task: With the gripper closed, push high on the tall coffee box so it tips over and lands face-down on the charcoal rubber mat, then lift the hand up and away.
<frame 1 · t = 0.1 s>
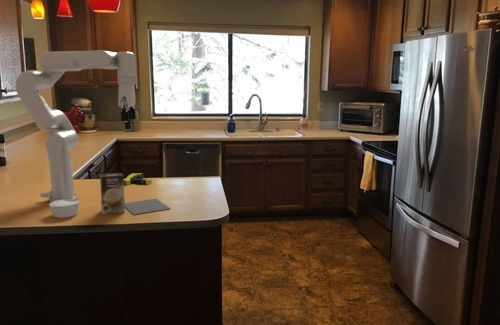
hand: (128, 120, 188), 37 cm above the countertop, tool pointing down, fingers open, 9 cm apart
ramekin: (65, 215, 174), on the countertop
coffee box: (113, 212, 178), on the countertop
stun gun: (140, 182, 233), on the countertop
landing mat: (145, 206, 185), on the countertop
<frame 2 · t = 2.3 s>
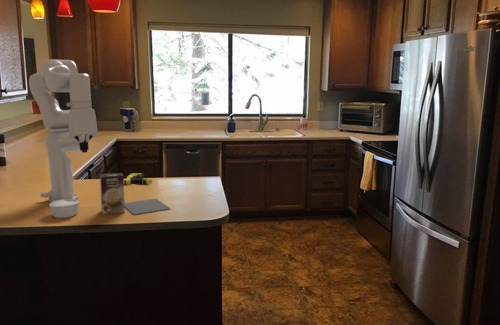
hand: (84, 151, 168), 26 cm above the countertop, tool pointing down, fingers closed
nothing on the countertop moved.
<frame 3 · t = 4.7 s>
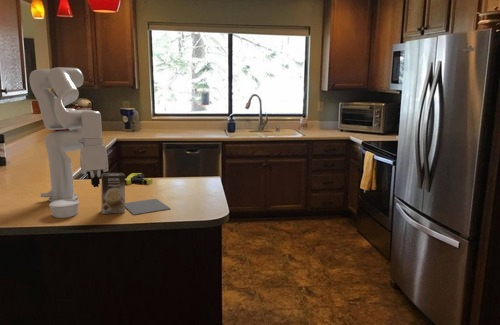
hand: (95, 186, 172), 12 cm above the countertop, tool pointing down, fingers closed
coffee box: (113, 211, 178), on the countertop, touching gripper
everything else where it was.
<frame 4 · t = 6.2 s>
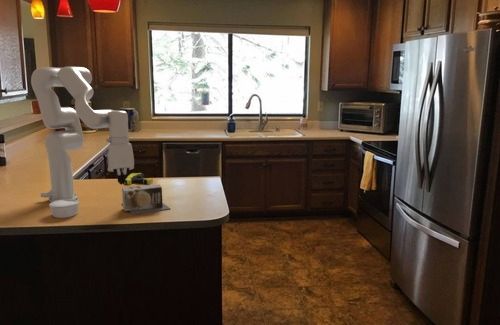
hand: (121, 183, 178), 12 cm above the countertop, tool pointing down, fingers closed
coffee box: (122, 199, 179), point 5 cm above the countertop, touching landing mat
everything else where it was.
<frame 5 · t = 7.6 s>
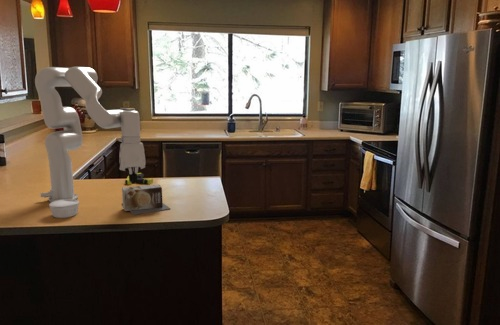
hand: (133, 182, 181), 12 cm above the countertop, tool pointing down, fingers closed
nothing on the countertop moved.
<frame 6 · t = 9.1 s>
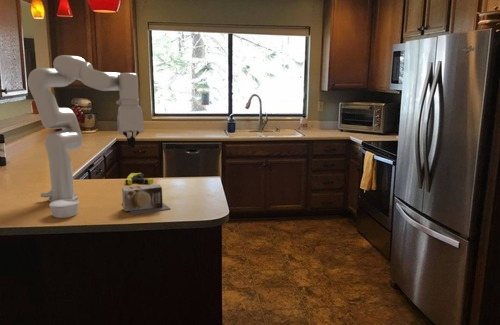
hand: (131, 147, 178), 27 cm above the countertop, tool pointing down, fingers closed
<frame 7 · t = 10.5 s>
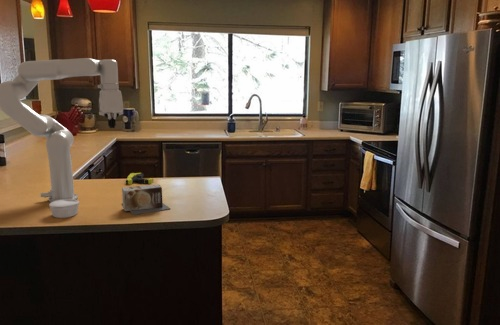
hand: (112, 127, 195), 33 cm above the countertop, tool pointing down, fingers closed
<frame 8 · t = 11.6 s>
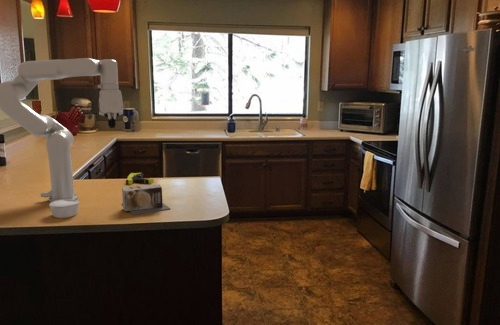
hand: (112, 127, 195), 33 cm above the countertop, tool pointing down, fingers closed
at the end: coffee box tilted 89°; coffee box inside the target area (3.5 cm from its centre), point 4.8 cm above the countertop; coffee box touching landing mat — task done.
